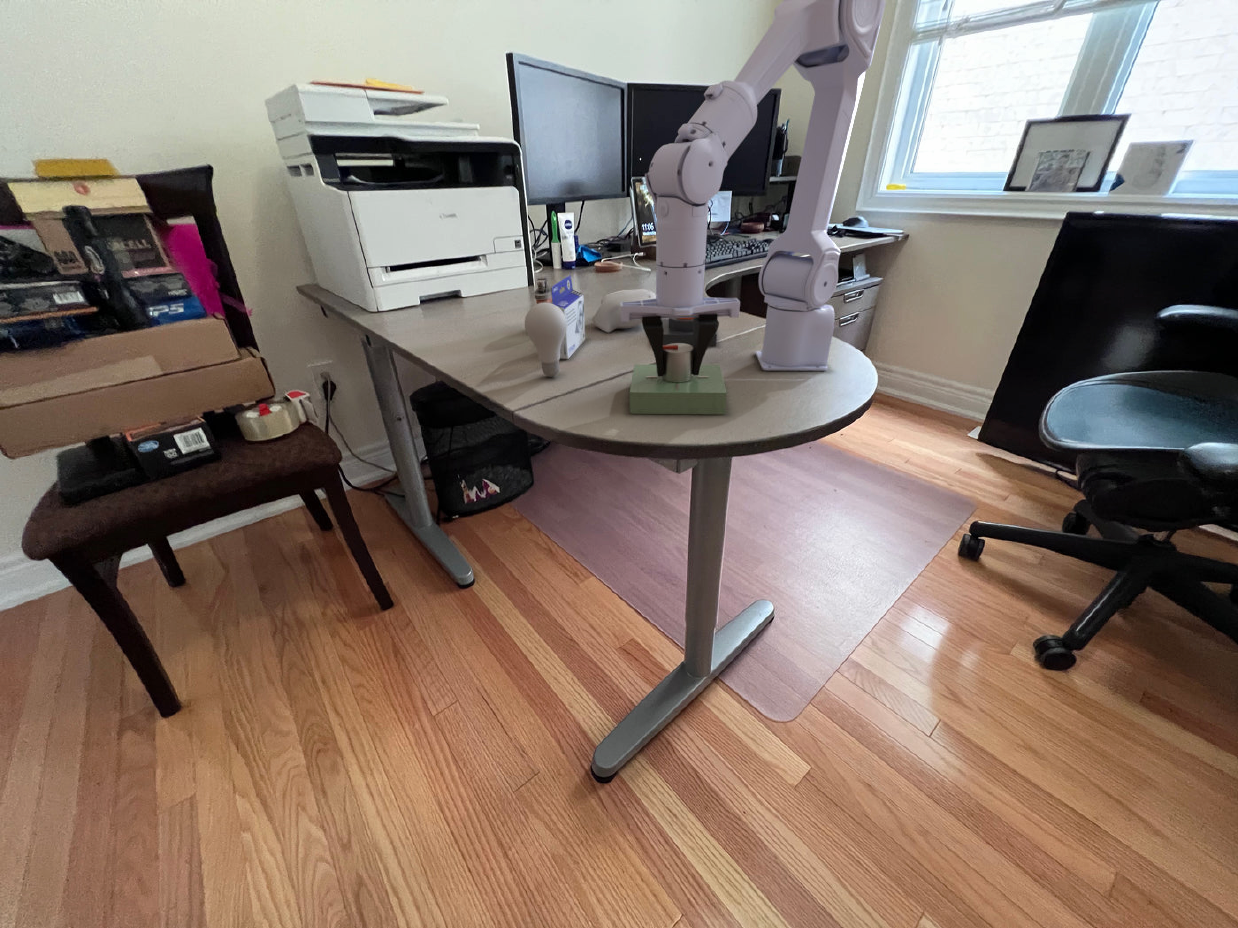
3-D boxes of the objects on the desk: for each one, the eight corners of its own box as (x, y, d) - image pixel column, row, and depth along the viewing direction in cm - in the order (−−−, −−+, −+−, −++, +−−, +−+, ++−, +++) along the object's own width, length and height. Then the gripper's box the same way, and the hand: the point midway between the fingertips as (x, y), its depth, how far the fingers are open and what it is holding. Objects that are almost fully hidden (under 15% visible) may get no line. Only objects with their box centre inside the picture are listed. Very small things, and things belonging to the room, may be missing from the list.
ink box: (569, 360, 81) (563, 288, 75) (556, 360, 82) (548, 288, 76) (587, 339, 91) (582, 273, 85) (575, 339, 91) (569, 273, 85)
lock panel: (718, 384, 70) (720, 363, 69) (724, 414, 62) (726, 391, 60) (634, 384, 71) (634, 363, 70) (630, 413, 63) (629, 391, 61)
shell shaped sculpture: (653, 315, 104) (653, 283, 100) (661, 332, 93) (661, 297, 90) (591, 318, 103) (589, 286, 100) (592, 335, 92) (590, 300, 89)
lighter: (553, 335, 94) (548, 280, 88) (536, 336, 94) (529, 281, 88) (558, 324, 100) (554, 272, 95) (542, 324, 100) (536, 273, 95)
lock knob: (690, 371, 67) (692, 340, 64) (694, 382, 63) (695, 350, 61) (661, 372, 67) (661, 341, 65) (663, 383, 63) (663, 351, 61)
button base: (712, 330, 93) (713, 308, 91) (716, 346, 85) (717, 323, 83) (659, 330, 94) (659, 309, 92) (658, 347, 86) (658, 324, 84)
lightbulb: (578, 372, 76) (573, 299, 71) (558, 386, 72) (550, 310, 66) (545, 367, 79) (537, 296, 73) (523, 380, 74) (513, 306, 68)
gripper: (619, 272, 54) (623, 386, 61) (750, 267, 54) (738, 382, 61) (618, 261, 60) (621, 367, 67) (736, 257, 60) (727, 363, 67)
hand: (677, 373), depth 65 cm, fingers closed on lock knob, 4 cm apart
